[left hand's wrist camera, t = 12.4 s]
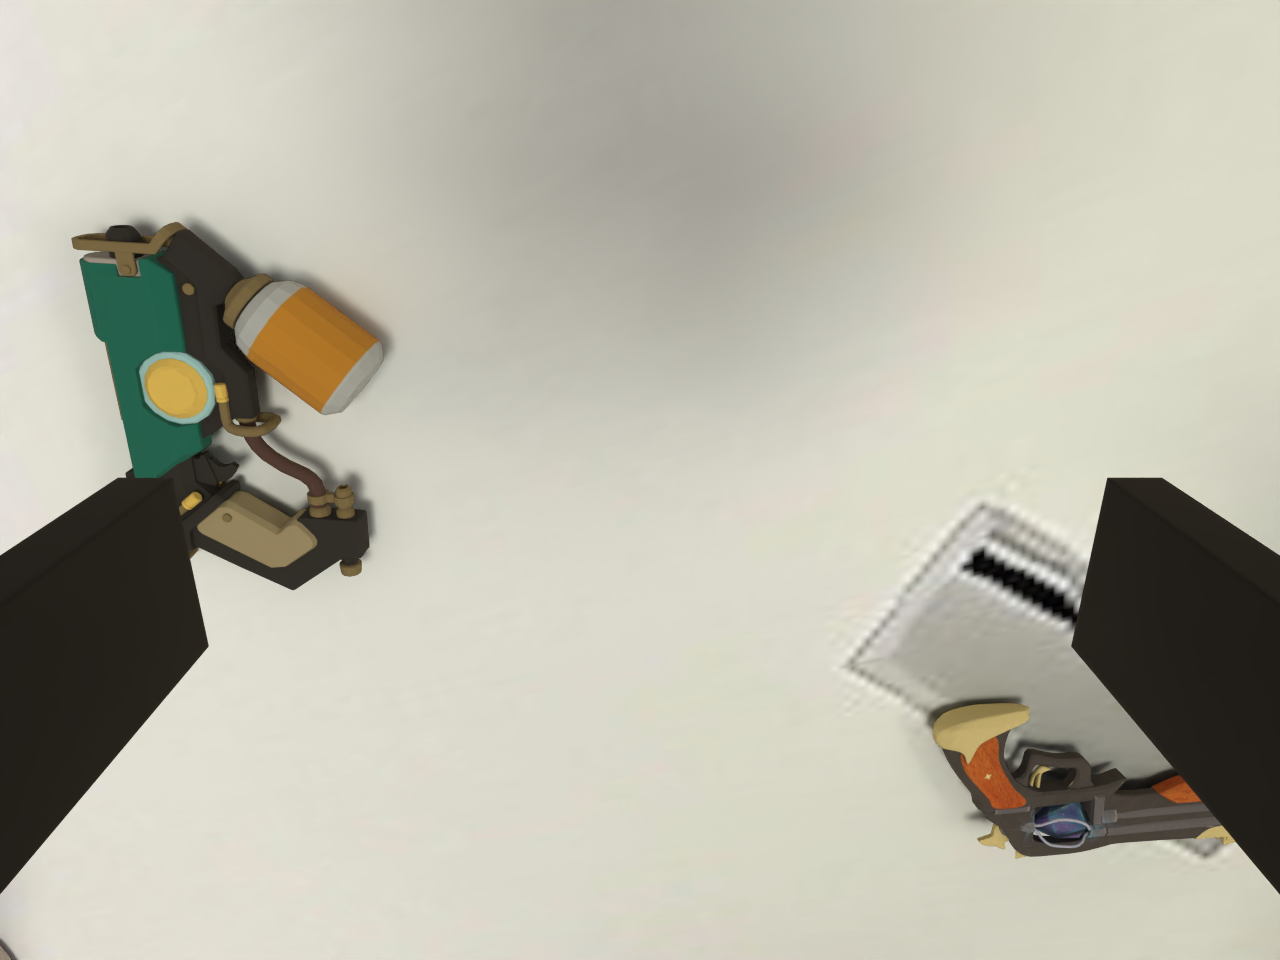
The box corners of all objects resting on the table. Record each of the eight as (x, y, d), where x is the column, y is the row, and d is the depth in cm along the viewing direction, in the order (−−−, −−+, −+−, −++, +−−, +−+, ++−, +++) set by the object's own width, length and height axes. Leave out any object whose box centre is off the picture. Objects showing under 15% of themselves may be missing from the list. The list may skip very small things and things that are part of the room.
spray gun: (366, 588, 47) (87, 501, 46) (435, 298, 40) (111, 186, 39) (336, 633, 43) (32, 540, 42) (408, 320, 36) (47, 197, 35)
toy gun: (944, 726, 47) (938, 883, 49) (1285, 697, 47) (1262, 853, 50) (925, 701, 49) (920, 851, 52) (1248, 674, 50) (1228, 823, 53)
